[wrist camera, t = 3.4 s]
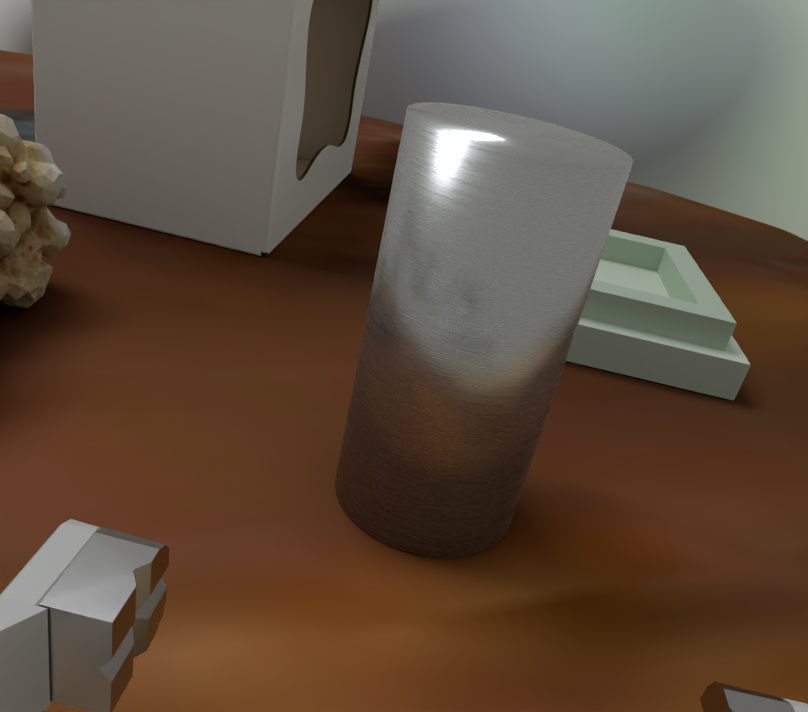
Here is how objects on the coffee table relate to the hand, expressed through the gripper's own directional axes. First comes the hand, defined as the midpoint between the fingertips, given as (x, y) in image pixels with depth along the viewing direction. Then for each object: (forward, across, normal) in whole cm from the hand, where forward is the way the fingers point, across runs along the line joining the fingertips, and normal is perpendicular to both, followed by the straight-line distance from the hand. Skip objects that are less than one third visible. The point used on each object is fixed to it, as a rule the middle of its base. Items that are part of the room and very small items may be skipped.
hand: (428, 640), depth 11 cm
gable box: (+40, -17, -7) cm, 44 cm away
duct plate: (+32, +7, -6) cm, 34 cm away
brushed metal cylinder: (+12, 0, -6) cm, 14 cm away
